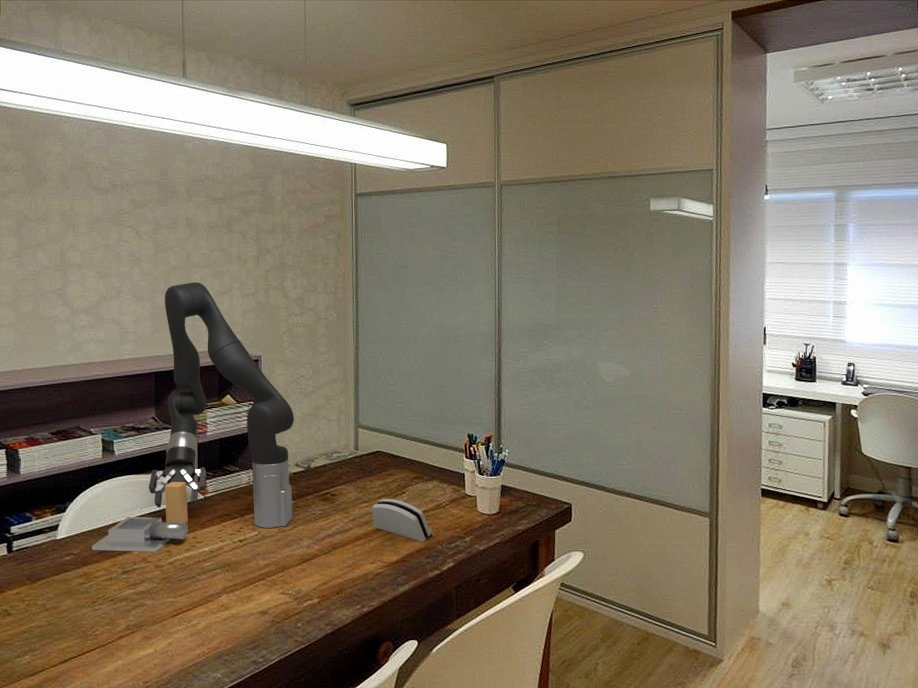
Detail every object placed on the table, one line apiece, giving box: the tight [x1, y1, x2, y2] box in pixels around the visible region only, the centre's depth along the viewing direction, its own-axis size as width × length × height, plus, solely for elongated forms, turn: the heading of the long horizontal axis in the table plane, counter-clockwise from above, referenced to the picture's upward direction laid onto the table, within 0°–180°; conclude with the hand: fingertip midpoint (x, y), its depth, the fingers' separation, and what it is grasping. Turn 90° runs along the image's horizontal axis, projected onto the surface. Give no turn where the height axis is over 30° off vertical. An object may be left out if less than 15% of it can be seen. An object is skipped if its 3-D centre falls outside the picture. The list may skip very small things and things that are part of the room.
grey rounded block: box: [371, 498, 435, 543], centre depth 184 cm, size 17×5×10 cm, turn 54°
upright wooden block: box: [164, 482, 189, 524], centre depth 190 cm, size 4×4×11 cm
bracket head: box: [91, 516, 189, 553], centre depth 179 cm, size 20×12×5 cm, turn 86°
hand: (175, 505), depth 189 cm, fingers open, 8 cm apart
